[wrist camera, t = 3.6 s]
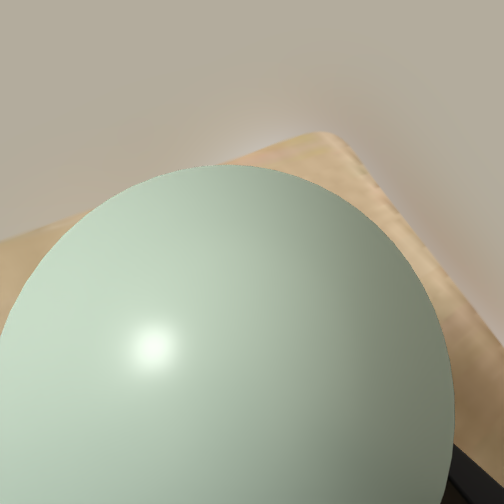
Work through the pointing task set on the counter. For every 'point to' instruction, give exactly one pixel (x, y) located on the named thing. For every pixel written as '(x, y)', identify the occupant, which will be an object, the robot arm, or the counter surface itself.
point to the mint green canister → (224, 354)
